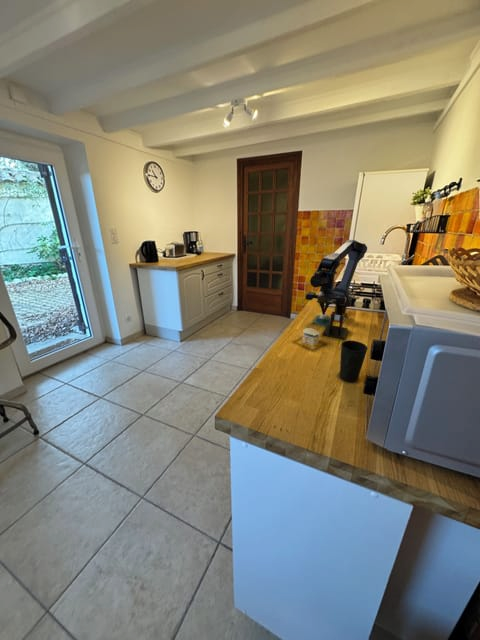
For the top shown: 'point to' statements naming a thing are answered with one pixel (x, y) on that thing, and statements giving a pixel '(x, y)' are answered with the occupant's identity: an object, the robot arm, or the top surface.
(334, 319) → the press lever
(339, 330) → the toaster bracket
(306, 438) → the top surface
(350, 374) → the cup
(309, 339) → the stacked layers on plate
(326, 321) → the button housing
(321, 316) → the button
